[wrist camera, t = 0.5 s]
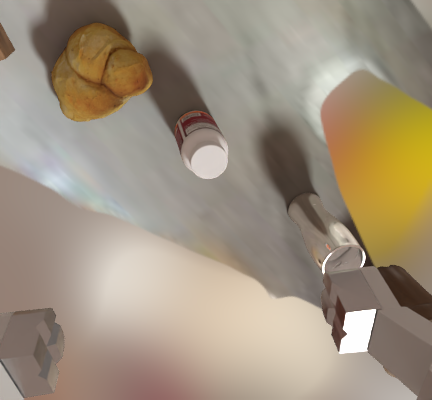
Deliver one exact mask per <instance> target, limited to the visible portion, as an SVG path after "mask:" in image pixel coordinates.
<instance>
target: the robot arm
mask: <svg viewBox="0 0 432 400" xmlns="http://www.w3.org/2000/svg"><path fill="white" fill-rule="evenodd" d="M323 284H324V286H325V288H324V289H323V290H322V292H321V306H322V311H323V314H324V317H325V319H326V322H327V323H328V324H330V325H331V326H332V334H331V335H332V337H333V339H334V342H335V345H336V347H337V349H338V352H339V353H350V352H359V351H368V353H369V354H370V355H371V356H373V357H374V358H375V359H376V360H377V361H378V362H379V363H380V364H382V365H383V366H384V367H385V368H386V369H387V370H388V371H389V372H391V373H392V374H393V375H394V376H395V377H396V378H397V379H399V380H400V381H401V382H402V383H403V384H404V385H405V386H407V387H408V388H409V389H410V390H411V391H412V392H413V393H414V394H416V395H417V396H418V397H417V400H432V322H430V321H429V320H427V319H425V318H424V317H422V316H421V315H419V314H417V313H416V312H414V311H412V310H411V309H409V308H407V307H401V306H400V305H399V303H398V301H397V300H396V298H395V297H394V295H393V293H392V292H391V290H390V289H389V287H388V285H387V284H386V282H385V280H384V279H383V277H382V276H381V274H380V272H379V271H378V269H377V268H376V267H375V266H369V267H362V268H353V269H346V270H339V271H332V272H325V273H324V275H323ZM55 318H56V315H55V313H54V311H53V309H52V308H45V309H36V310H26V311H16V312H9V313H0V400H24V398H26V397H32V396H38V395H44V394H50V393H54V391H55V387H56V382H57V378H58V374H59V370H58V368H57V366H56V363H58V362H59V360H60V359H61V358H62V356H63V351H64V334H63V330H62V328H61V326H60V325H59V324H57V323H55Z"/></svg>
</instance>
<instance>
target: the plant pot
mask: <svg viewBox="0 0 432 400" xmlns="http://www.w3.org/2000/svg"><path fill="white" fill-rule="evenodd" d="M377 269H378V271H379V272H380V274H381V276H382V277H383V279H384V280H385V282H386V284H387V285H388V287H389V289H390V290H391V292H392V293H393V295H394V297H395V298H396V300H397V301H398V303H399V305H400V306H401V307H407V308H409V309H411V310H412V311H414V312H416V313H417V314H419V315H421V316H422V317H424V318H425V319H427V320H429V321H430V322H432V295H430V294H429V293H428V292H427V291H426V290H425V289H424V288H423V287H422V286H421V285H420V284H419V283H418V282H417V281H416V280H414V279H413V278H412V277H411V275H409V274H408V273H407V272H406V271H405V270H404V269H403V268H401V267H399V266H396V265H390V266H389V267H378V268H377ZM383 367H384V366H383ZM384 369H385V371H386V372H387V373H388V374H389V375H390V376H393V377H395V376H394V375H393V374H392V373H391V372H389V371H388V370H387V369H386V368H385V367H384Z"/></svg>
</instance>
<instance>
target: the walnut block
mask: <svg viewBox="0 0 432 400" xmlns="http://www.w3.org/2000/svg"><path fill="white" fill-rule="evenodd" d="M14 51H15V49H14V47H13V45H12V43H11V41H10V40H9V38H8V36H7V34H6V32H5V30H4V29H3V27H2V25H1V23H0V61H1V60H4V59H6V58H7V57H8V56H9V55H10V54H11V53H12V52H14Z"/></svg>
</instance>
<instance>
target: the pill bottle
mask: <svg viewBox="0 0 432 400" xmlns="http://www.w3.org/2000/svg"><path fill="white" fill-rule="evenodd" d="M175 138H176V141H177V144H178V147H179V151H180V154H181V157H182V160H183V162H184V164H185V165H186V166H187V168H189V169H190V170H191V171H193V172H194V173H195V174H196V175H197V176H199V177H201V178H204V179H211V178H215V177H217V176H219V175H220V174H221V173H223V171H224V170H225V168H226V166H227V163H228V158H227V155H228V145H227V142H226V140H225V138H224V136H223V135H222V133H221V131H220V130H219V128H218V126H217V124H216V123H215V121H214V119H213V118H212V117H211V116H210V115H209V114H207V113H205V112H203V111H190V112H188V113H185V114H184V115H183V116H181V117H180V119H179V120H178V121H177V123H176V126H175Z"/></svg>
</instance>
